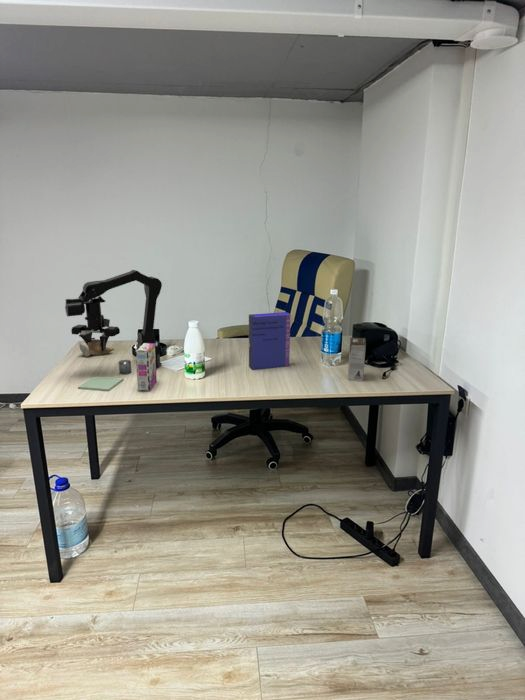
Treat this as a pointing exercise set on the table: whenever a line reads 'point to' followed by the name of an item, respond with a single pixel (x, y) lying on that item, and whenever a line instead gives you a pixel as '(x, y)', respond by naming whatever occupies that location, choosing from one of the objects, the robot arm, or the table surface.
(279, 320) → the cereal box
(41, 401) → the table surface
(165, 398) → the table surface
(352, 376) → the coffee box
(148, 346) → the candy bar box
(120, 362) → the metal cylinder
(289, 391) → the table surface
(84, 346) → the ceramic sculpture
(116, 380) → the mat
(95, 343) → the walnut block
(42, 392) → the table surface
